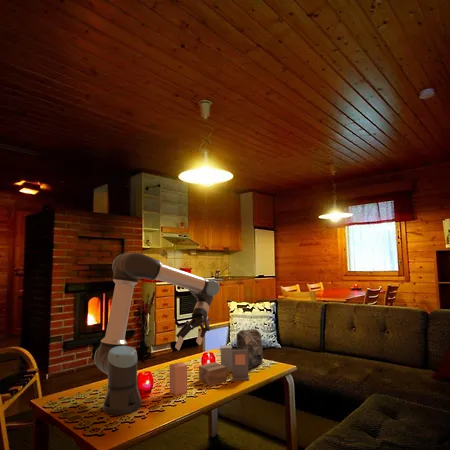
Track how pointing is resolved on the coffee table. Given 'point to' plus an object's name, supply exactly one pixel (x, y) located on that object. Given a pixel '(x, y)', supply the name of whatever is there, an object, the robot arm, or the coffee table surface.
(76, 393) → the coffee table surface
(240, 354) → the charcoal sign
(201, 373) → the walnut block
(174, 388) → the terracotta block
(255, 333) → the stone block
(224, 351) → the slate-grey block
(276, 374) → the coffee table surface
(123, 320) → the robot arm
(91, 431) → the coffee table surface
